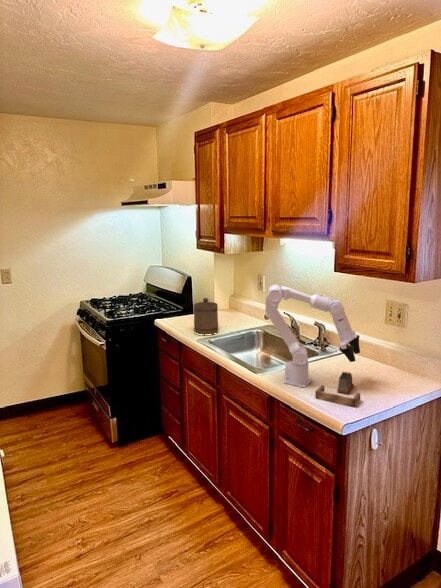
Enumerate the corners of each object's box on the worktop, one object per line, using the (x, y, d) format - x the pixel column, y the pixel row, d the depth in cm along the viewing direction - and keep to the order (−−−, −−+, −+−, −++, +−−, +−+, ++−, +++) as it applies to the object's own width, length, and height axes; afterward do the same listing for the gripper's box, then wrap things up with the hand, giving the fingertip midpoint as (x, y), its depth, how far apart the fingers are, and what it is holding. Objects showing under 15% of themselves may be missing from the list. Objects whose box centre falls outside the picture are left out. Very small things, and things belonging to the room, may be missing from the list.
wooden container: (222, 331, 257) (221, 297, 253) (210, 337, 245) (209, 301, 240) (202, 328, 264) (201, 295, 260) (189, 334, 252) (188, 299, 248)
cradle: (315, 398, 160) (315, 391, 160) (321, 391, 166) (321, 384, 166) (355, 407, 152) (355, 400, 151) (360, 400, 158) (360, 393, 157)
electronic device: (354, 386, 171) (355, 369, 169) (348, 395, 163) (348, 377, 161) (343, 384, 173) (344, 367, 172) (337, 393, 165) (337, 375, 164)
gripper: (347, 332, 160) (360, 363, 162) (357, 319, 172) (368, 348, 173) (331, 336, 164) (343, 366, 166) (341, 322, 176) (352, 350, 177)
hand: (355, 357), depth 170 cm, fingers open, 7 cm apart
